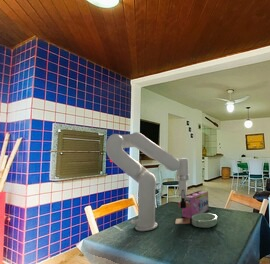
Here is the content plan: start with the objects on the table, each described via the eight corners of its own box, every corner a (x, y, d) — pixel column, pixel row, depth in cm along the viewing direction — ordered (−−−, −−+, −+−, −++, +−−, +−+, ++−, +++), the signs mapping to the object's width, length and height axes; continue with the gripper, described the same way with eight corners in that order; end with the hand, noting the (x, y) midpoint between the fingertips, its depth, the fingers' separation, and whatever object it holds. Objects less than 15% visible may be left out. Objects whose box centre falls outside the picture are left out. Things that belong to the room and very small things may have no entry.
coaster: (175, 224, 120) (175, 223, 120) (176, 219, 129) (175, 218, 129) (190, 223, 121) (190, 223, 121) (189, 218, 130) (189, 218, 130)
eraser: (178, 208, 124) (178, 203, 124) (178, 206, 127) (178, 201, 127) (188, 207, 124) (188, 202, 124) (188, 206, 127) (188, 201, 128)
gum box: (200, 208, 153) (200, 190, 155) (209, 209, 149) (209, 191, 150) (181, 217, 133) (181, 196, 134) (191, 219, 129) (191, 197, 130)
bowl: (192, 228, 113) (192, 221, 113) (191, 219, 128) (191, 213, 128) (218, 227, 114) (218, 220, 114) (214, 218, 129) (214, 212, 129)
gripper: (177, 176, 135) (177, 203, 133) (176, 179, 119) (176, 211, 117) (188, 175, 136) (189, 203, 134) (189, 179, 119) (189, 210, 118)
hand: (183, 206), depth 126 cm, fingers closed on eraser, 3 cm apart
